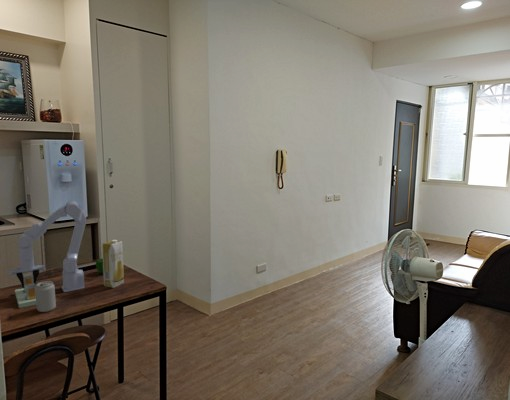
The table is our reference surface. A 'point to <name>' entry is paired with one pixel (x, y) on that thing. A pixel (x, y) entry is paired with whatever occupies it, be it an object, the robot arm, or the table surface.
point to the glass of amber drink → (30, 291)
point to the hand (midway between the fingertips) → (28, 286)
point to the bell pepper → (99, 265)
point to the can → (45, 296)
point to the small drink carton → (27, 280)
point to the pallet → (23, 299)
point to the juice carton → (113, 263)
